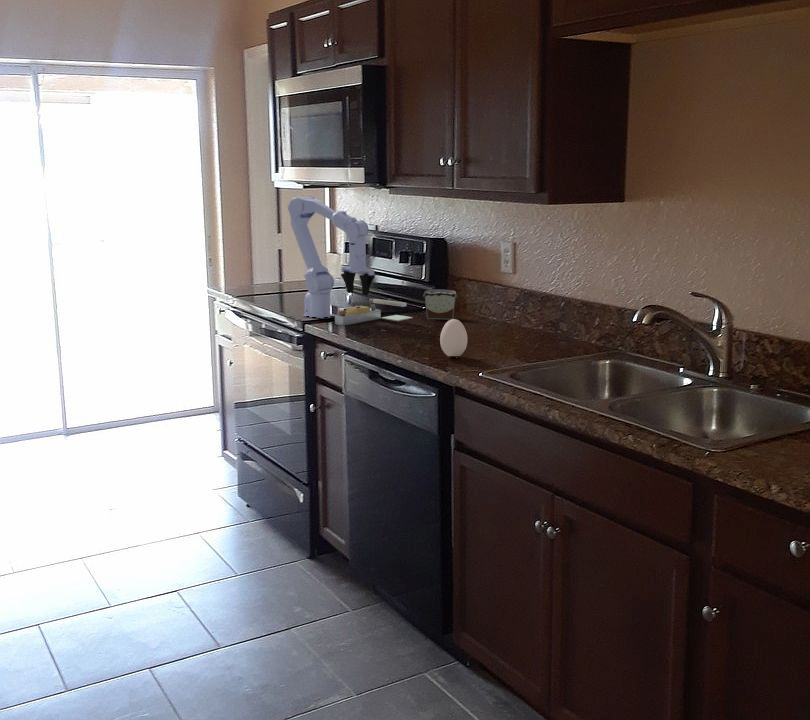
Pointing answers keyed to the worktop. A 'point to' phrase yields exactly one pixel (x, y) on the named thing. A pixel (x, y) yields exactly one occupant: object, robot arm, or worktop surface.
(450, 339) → the egg
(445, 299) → the food container
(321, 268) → the robot arm
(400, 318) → the mat
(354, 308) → the cap
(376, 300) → the lever
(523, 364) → the worktop surface
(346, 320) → the plane body
